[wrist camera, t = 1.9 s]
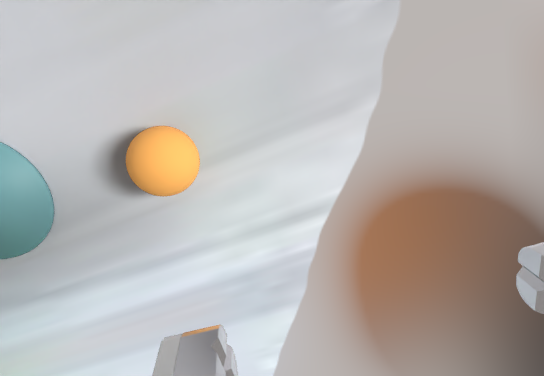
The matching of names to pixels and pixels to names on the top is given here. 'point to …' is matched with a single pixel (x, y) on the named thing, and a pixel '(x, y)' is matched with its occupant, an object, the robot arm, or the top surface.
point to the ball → (162, 161)
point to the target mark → (22, 204)
